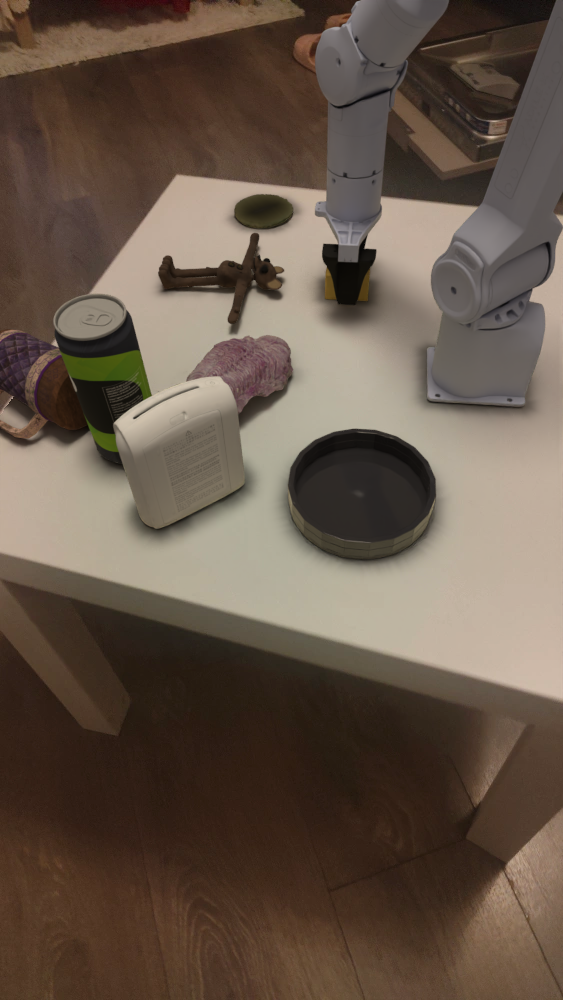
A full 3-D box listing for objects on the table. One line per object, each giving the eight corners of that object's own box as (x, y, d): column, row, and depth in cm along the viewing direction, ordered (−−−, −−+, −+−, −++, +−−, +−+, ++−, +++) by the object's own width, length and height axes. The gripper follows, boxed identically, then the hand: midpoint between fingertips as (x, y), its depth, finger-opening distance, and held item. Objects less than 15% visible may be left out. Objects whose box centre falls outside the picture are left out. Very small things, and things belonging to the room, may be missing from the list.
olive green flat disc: (283, 227, 85) (283, 232, 86) (300, 197, 90) (300, 203, 91) (225, 219, 87) (226, 224, 88) (245, 190, 92) (246, 195, 92)
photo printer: (229, 456, 62) (214, 354, 53) (253, 485, 60) (242, 383, 50) (131, 506, 59) (96, 406, 49) (152, 538, 57) (120, 441, 47)
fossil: (166, 415, 66) (156, 375, 62) (252, 340, 73) (248, 300, 69) (229, 448, 63) (222, 408, 59) (313, 367, 70) (312, 326, 66)
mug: (122, 381, 66) (43, 342, 71) (79, 348, 59) (-5, 308, 64) (70, 469, 65) (-5, 424, 70) (21, 446, 59) (-59, 398, 64)
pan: (430, 452, 62) (434, 433, 60) (432, 566, 54) (437, 548, 52) (297, 443, 63) (297, 424, 61) (281, 552, 56) (279, 535, 54)
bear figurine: (176, 220, 83) (289, 212, 80) (184, 251, 86) (293, 245, 84) (140, 306, 72) (269, 301, 70) (151, 338, 76) (275, 334, 73)
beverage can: (170, 424, 65) (139, 294, 53) (151, 472, 61) (113, 343, 49) (111, 417, 66) (67, 288, 54) (88, 464, 62) (36, 336, 50)
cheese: (369, 284, 79) (371, 260, 76) (367, 301, 76) (369, 277, 74) (327, 282, 79) (327, 258, 77) (324, 299, 77) (325, 275, 74)
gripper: (321, 131, 71) (320, 247, 82) (308, 200, 62) (308, 319, 73) (387, 133, 70) (377, 249, 81) (383, 202, 61) (372, 323, 72)
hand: (349, 283), depth 77 cm, fingers open, 7 cm apart
